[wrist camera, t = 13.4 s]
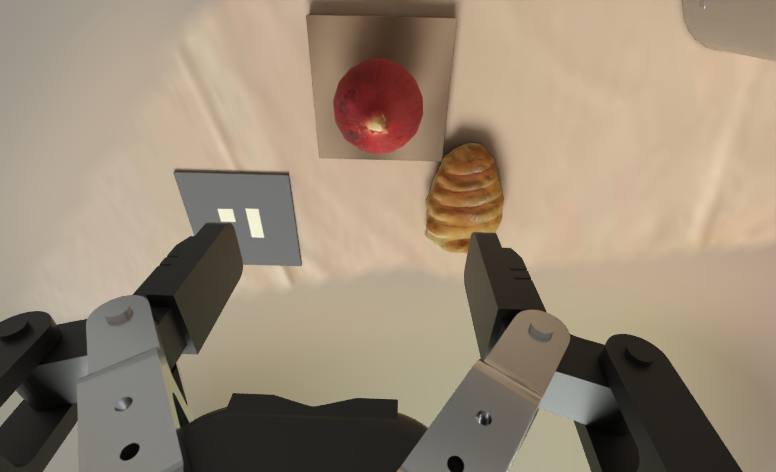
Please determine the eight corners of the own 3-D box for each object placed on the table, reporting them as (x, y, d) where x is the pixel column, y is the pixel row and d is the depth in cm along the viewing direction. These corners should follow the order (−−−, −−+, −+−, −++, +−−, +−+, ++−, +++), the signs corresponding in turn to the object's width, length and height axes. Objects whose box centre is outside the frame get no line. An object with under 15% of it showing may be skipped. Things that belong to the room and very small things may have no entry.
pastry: (425, 141, 30) (428, 158, 27) (507, 137, 30) (521, 155, 27) (424, 236, 35) (427, 259, 32) (494, 233, 35) (504, 257, 32)
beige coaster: (455, 17, 25) (456, 18, 24) (440, 156, 30) (441, 161, 30) (309, 14, 25) (306, 15, 24) (321, 153, 31) (319, 158, 30)
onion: (364, 145, 29) (353, 191, 22) (326, 75, 26) (301, 104, 20) (432, 113, 28) (442, 152, 21) (399, 35, 25) (399, 51, 18)
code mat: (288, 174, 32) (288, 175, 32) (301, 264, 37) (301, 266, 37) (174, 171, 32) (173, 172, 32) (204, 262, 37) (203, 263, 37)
